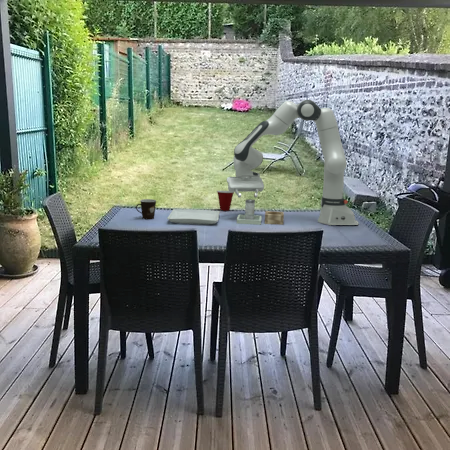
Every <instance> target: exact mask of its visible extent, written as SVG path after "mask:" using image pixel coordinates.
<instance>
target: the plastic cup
mask: <svg viewBox="0 0 450 450" xmlns="http://www.w3.org/2000/svg"><path fill="white" fill-rule="evenodd" d="M216 193H217V196H218V205H219V209H220V210H219V211H222V210H223V212H229V211H230V210H231V206H232V202H233V196H234V193H235V192H230V191H229V190H216Z"/></svg>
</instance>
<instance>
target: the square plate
mask: <svg viewBox="0 0 450 450" xmlns="http://www.w3.org/2000/svg"><path fill="white" fill-rule="evenodd" d="M220 213H221V210H208V209H194V208H193V209H191V208H190V209H189V208H174V209H172V210H171V212H170V213H169V215H168V217H166V218H167V220H168V221H169V222H171V223H174V224H182V225H183V224H185V225H187V224H189V225H214V224H216V223H217V222H218V221H219V218H220Z"/></svg>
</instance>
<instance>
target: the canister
mask: <svg viewBox="0 0 450 450" xmlns="http://www.w3.org/2000/svg"><path fill="white" fill-rule="evenodd" d="M244 204H245V206H244V215H245V219H246V220H254V215H255V204H256V200H255V199H253V198H252V199H250V198H248V199H245V203H244Z"/></svg>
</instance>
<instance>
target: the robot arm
mask: <svg viewBox="0 0 450 450" xmlns="http://www.w3.org/2000/svg"><path fill="white" fill-rule="evenodd" d="M297 118H298V119H301V120H303V121H307V122H308V121H313V122H314V123H315V126H316V131H317V134H318V139H319V144H320V147H321V153H322V157H323V159H324V165H323V166H324V167H323V184H322V185H323V187H322V188H323V189H322V196H321V200H320V212H319V216H318V219H317V222H318V223H319V224H323V225H324V224H325V225H328V226H331V225H358V226H359V221H358V220H356V218H355V213H354V212H353V210H352V209H351V208H350V207H348V206H347V204H348V200H347V199H345V198H343V197H344V188H345V187H344V186H345V182H344V175H345V169H346V168H347V163H348V162H347V158H346V155H345V152H344V148H343V144H342V140H341V139H342V138H341V135H340V131H339V126H338V122H337V118H336V116H335V114H334V111H333V110H332V108H329V107H323V108H321V107H320V106H319V105H318V104H317V103H316V102H315V101H314V100H311V99H304V100H302V101H301V102H299V103H294V102H293V101H290V100H286V101H284V102H283V103H282V104H281V105H280V106H279V107H278V108H277V109H276V110H275V111H274V112H273V114H272V115H271V116H270V117H269V118H268V119H266V120H263V121H261V122H260V123H258V125H257V126H255V127H254V129H252V130H251V132H249V134H247V135H246V137H245V138H243V140H242V141H241V142H239V143H238V144H237V145H236V146H235V147H234V149H233V168H234V171H235V176H228V177H226V183H227V191H230V192H234V193H235V195H236V196H237V198H242V193H243V192H245V193H249V192H254V194H253V197H254V198H258V193H259V192H263V190H264V189H265V184H264V181H263V178H262V177H261V174H260V173H259V172H256V171H252V170H254V169H256V168H258V167H259V166H261V165H262V163H263V162H264V161H263V160H264V155H263V153H262V152H261V151H259V149H256V148H254V147H253V145H255V143H257V141H259V140H260V138H262V137H263V136H266V135H270V136H271V135H273V136H279V135H283V134H284V133H285V132H286V131H287V130H288V129H289V127H290V126H291V125H292V123H293V122H294V121H295V120H297ZM240 192H242V193H240Z"/></svg>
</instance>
